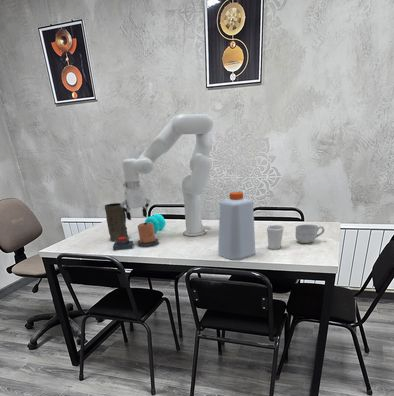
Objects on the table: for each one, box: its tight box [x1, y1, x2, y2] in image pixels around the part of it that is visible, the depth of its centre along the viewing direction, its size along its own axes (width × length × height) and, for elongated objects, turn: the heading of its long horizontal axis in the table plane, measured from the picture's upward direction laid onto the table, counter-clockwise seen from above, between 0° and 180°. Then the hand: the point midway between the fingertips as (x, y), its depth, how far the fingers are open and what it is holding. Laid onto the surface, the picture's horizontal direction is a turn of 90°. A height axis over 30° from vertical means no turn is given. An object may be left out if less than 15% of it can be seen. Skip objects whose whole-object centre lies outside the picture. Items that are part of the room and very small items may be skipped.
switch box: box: [112, 238, 134, 251], centre depth 187 cm, size 10×8×4 cm
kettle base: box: [137, 237, 160, 248], centre depth 190 cm, size 12×12×2 cm
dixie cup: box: [266, 224, 285, 250], centre depth 169 cm, size 8×8×10 cm
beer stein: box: [104, 202, 129, 242], centre depth 201 cm, size 15×11×20 cm
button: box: [118, 237, 126, 242], centre depth 186 cm, size 4×4×2 cm
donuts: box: [144, 213, 166, 234], centre depth 210 cm, size 10×10×10 cm
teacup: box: [295, 223, 325, 244], centre depth 174 cm, size 14×11×8 cm
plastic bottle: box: [217, 191, 256, 261], centre depth 159 cm, size 15×15×28 cm
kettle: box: [137, 222, 156, 243], centre depth 188 cm, size 17×8×10 cm, turn 35°
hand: (137, 218), depth 190 cm, fingers open, 9 cm apart
